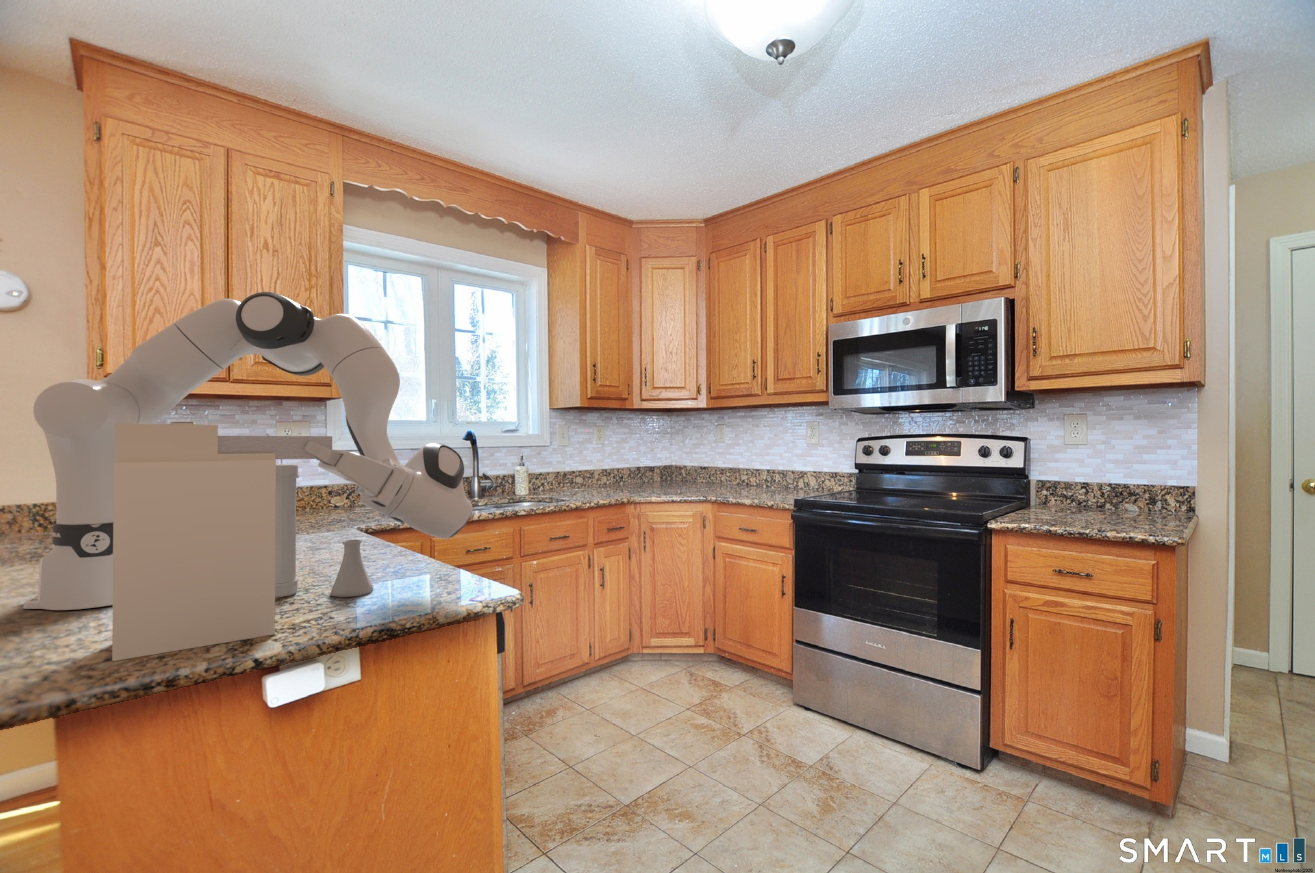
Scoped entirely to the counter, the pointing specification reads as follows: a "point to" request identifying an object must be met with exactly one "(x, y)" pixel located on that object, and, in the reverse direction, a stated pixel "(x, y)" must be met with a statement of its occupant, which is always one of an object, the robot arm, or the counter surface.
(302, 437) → the bar
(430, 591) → the counter surface
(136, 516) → the stepped beige panel
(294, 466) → the pipe
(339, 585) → the flask
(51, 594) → the robot arm
